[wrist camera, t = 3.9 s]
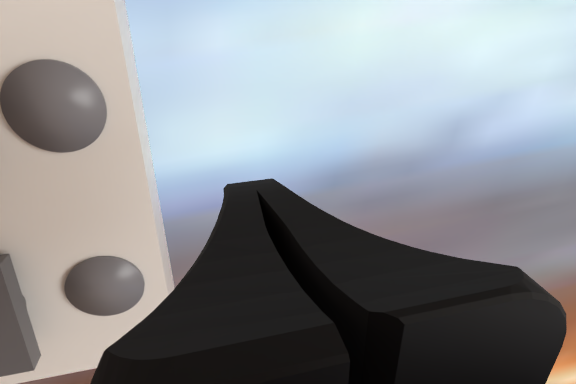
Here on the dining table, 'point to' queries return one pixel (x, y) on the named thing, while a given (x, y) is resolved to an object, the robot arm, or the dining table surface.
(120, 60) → the beige switch box
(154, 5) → the dining table surface
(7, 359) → the rocker
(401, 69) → the dining table surface
